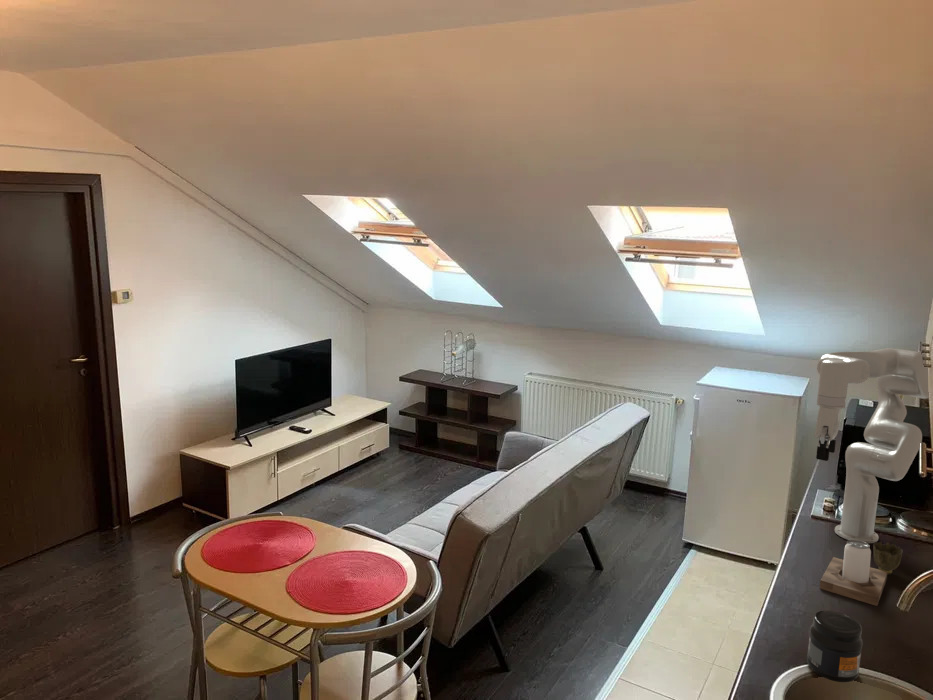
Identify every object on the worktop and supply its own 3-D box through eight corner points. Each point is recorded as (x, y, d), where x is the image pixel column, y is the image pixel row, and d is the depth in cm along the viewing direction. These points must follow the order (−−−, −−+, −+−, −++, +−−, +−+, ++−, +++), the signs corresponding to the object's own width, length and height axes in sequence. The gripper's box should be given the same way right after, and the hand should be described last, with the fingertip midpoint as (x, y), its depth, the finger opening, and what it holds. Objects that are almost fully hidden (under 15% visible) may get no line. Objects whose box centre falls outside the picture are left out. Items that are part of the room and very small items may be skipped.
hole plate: (832, 564, 201) (833, 557, 200) (886, 580, 192) (887, 572, 192) (819, 588, 187) (820, 580, 187) (877, 606, 178) (878, 597, 178)
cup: (874, 576, 194) (877, 550, 193) (867, 564, 201) (870, 540, 200) (903, 580, 192) (907, 554, 191) (894, 568, 199) (898, 543, 198)
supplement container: (869, 682, 147) (876, 632, 145) (827, 687, 146) (833, 637, 144) (835, 653, 158) (841, 606, 156) (795, 657, 156) (801, 610, 154)
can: (871, 591, 186) (874, 550, 184) (845, 588, 187) (848, 547, 186) (863, 580, 192) (867, 540, 190) (839, 577, 193) (842, 538, 192)
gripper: (823, 393, 208) (817, 446, 211) (811, 404, 195) (805, 460, 197) (850, 397, 203) (844, 451, 206) (840, 408, 190) (833, 465, 193)
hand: (825, 455), depth 202 cm, fingers open, 9 cm apart
